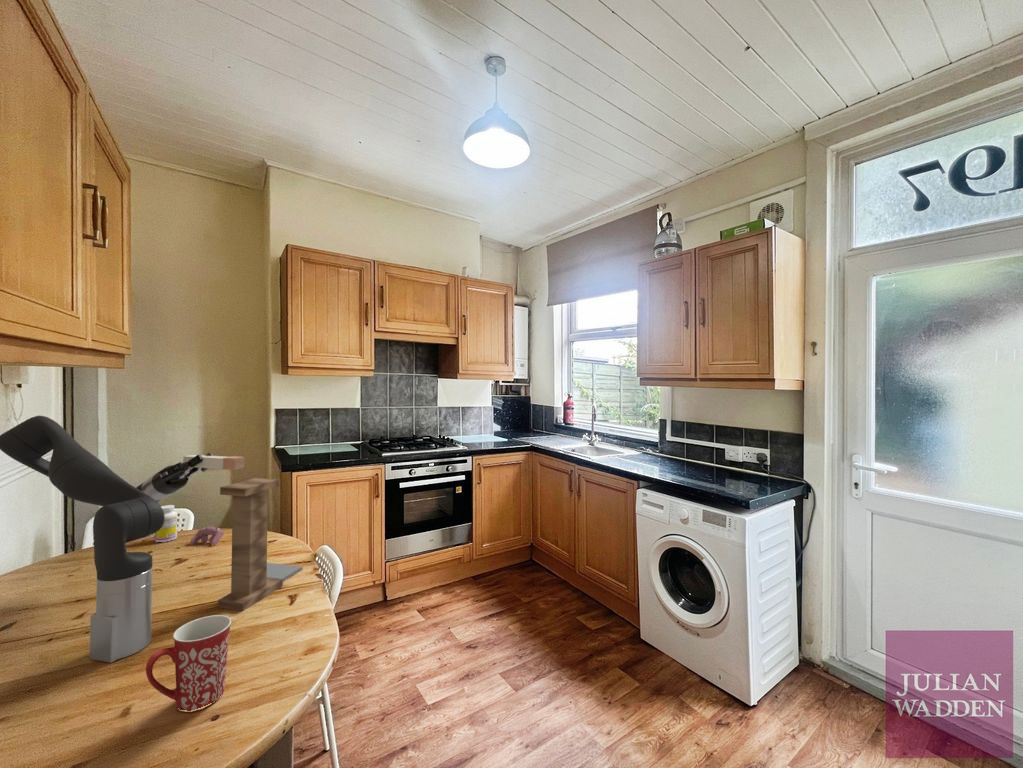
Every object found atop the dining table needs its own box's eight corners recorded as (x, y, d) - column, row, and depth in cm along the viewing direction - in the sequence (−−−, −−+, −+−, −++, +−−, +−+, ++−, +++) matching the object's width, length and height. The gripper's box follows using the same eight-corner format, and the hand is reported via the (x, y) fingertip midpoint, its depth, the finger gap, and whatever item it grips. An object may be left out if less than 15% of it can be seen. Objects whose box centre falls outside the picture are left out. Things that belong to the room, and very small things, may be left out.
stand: (243, 610, 109) (245, 490, 109) (214, 606, 111) (216, 488, 111) (282, 586, 123) (284, 478, 123) (256, 583, 125) (258, 477, 125)
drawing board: (281, 582, 125) (281, 579, 125) (237, 577, 128) (237, 573, 128) (302, 569, 134) (302, 566, 134) (260, 564, 137) (260, 561, 137)
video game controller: (221, 547, 156) (227, 527, 159) (212, 545, 152) (219, 526, 155) (196, 546, 157) (204, 526, 160) (187, 544, 153) (195, 525, 156)
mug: (224, 674, 85) (225, 609, 85) (235, 698, 79) (236, 627, 79) (142, 708, 76) (144, 635, 76) (147, 738, 70) (149, 657, 70)
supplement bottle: (158, 538, 160) (158, 505, 160) (179, 535, 163) (179, 503, 163) (151, 544, 154) (152, 509, 154) (173, 541, 157) (174, 507, 157)
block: (234, 469, 117) (234, 458, 117) (182, 466, 120) (183, 455, 120) (244, 467, 120) (244, 456, 120) (193, 464, 123) (193, 454, 123)
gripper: (134, 476, 117) (178, 448, 114) (183, 467, 131) (222, 442, 128) (144, 500, 116) (188, 472, 113) (192, 488, 130) (232, 463, 127)
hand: (206, 456), depth 121 cm, fingers closed on block, 3 cm apart
